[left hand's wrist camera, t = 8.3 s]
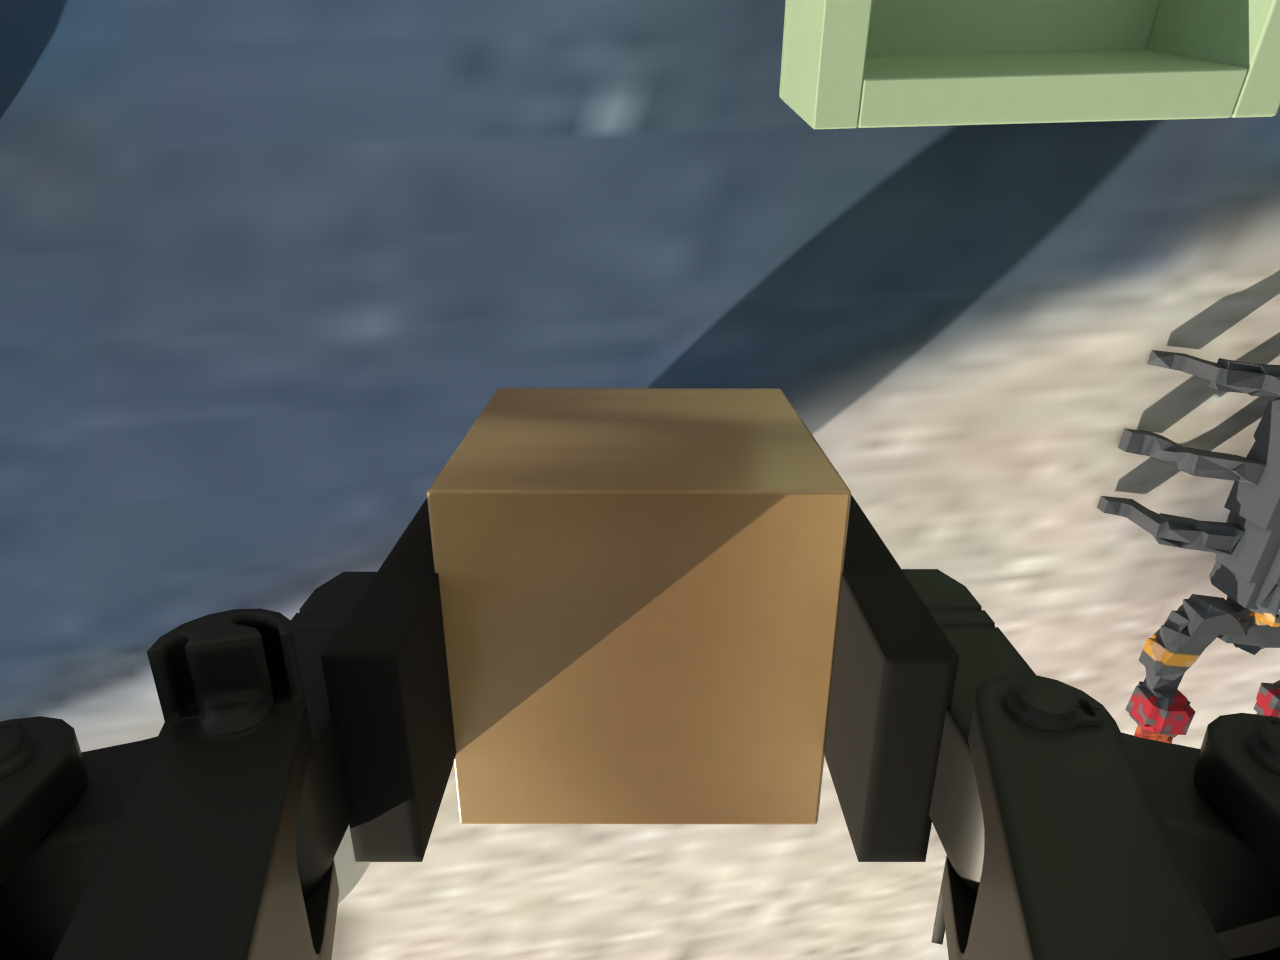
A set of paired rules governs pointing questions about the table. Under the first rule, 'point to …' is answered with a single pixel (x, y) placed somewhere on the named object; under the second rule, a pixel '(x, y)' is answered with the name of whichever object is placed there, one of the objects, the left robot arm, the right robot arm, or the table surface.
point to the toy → (1213, 550)
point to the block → (639, 606)
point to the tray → (1028, 61)
